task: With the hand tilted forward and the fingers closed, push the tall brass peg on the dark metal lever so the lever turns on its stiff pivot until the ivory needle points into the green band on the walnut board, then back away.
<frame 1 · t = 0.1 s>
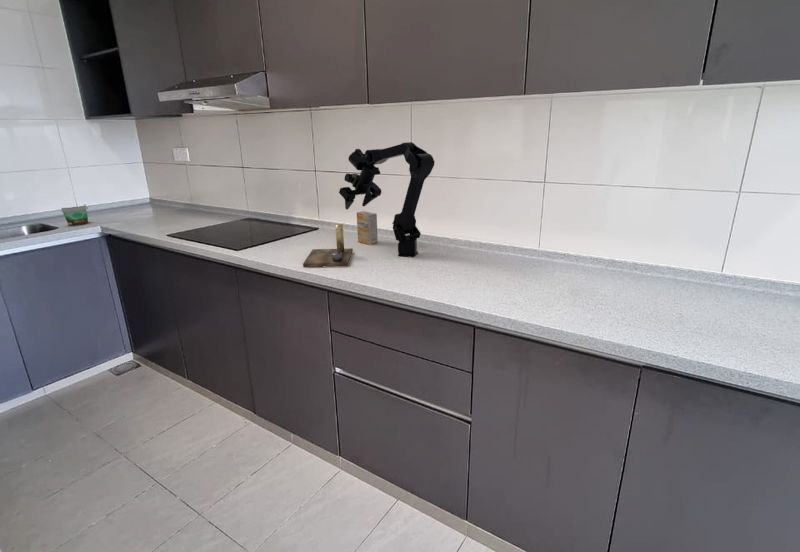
hand: (354, 207, 186), 15 cm above the worktop, tool tilted 35°, fingers open, 9 cm apart
supplement box: (367, 243, 188), on the worktop
tuning lever: (338, 241, 163), point 7 cm above the worktop, hinge at 0.0°
dial board: (329, 259, 166), on the worktop
food container: (80, 224, 239), on the worktop
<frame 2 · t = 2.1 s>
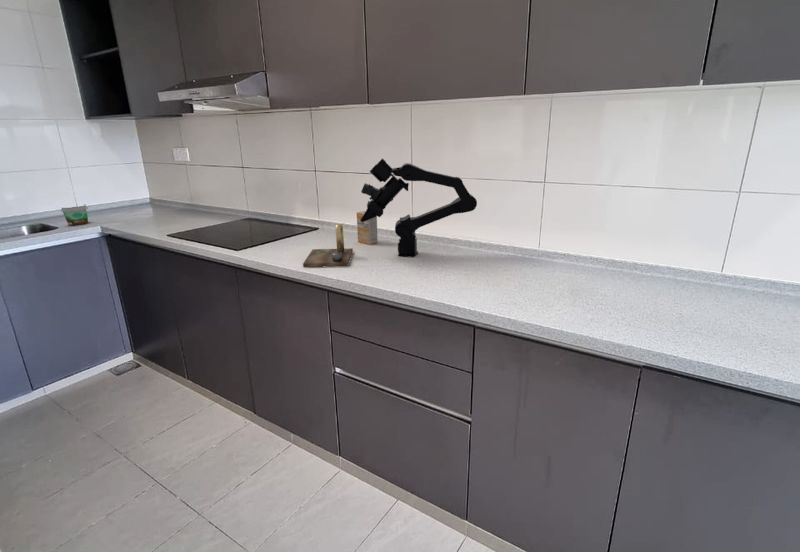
hand: (361, 221, 165), 14 cm above the worktop, tool tilted 45°, fingers closed
nothing on the worktop moved.
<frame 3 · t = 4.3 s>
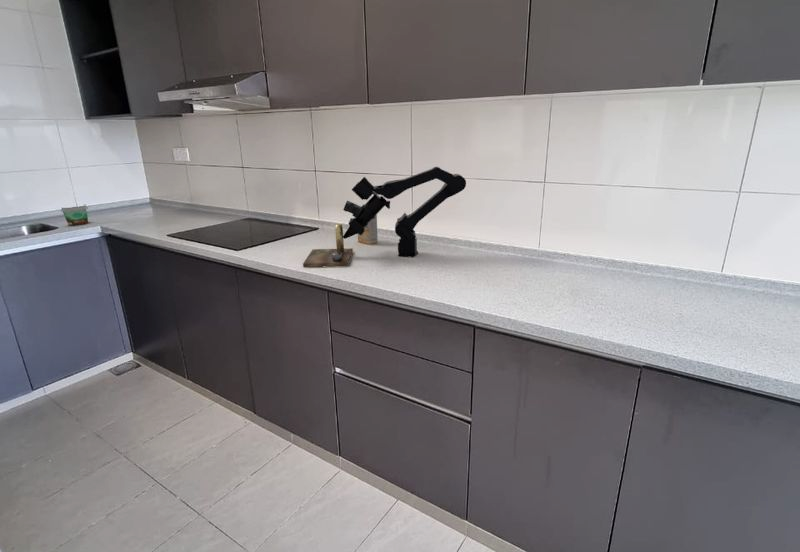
hand: (343, 237, 167), 7 cm above the worktop, tool tilted 45°, fingers closed, pressing on tuning lever
tuning lever: (338, 241, 163), point 7 cm above the worktop, hinge at 0.6°, touching gripper
everything else where it was.
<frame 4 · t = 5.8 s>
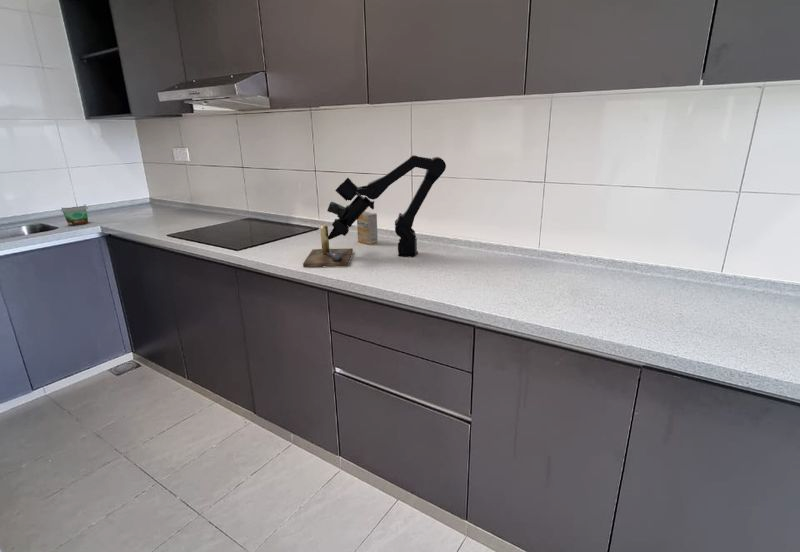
hand: (328, 238, 167), 7 cm above the worktop, tool tilted 45°, fingers closed
tuning lever: (329, 241, 162), point 7 cm above the worktop, hinge at 30.1°, touching gripper
everything else where it was.
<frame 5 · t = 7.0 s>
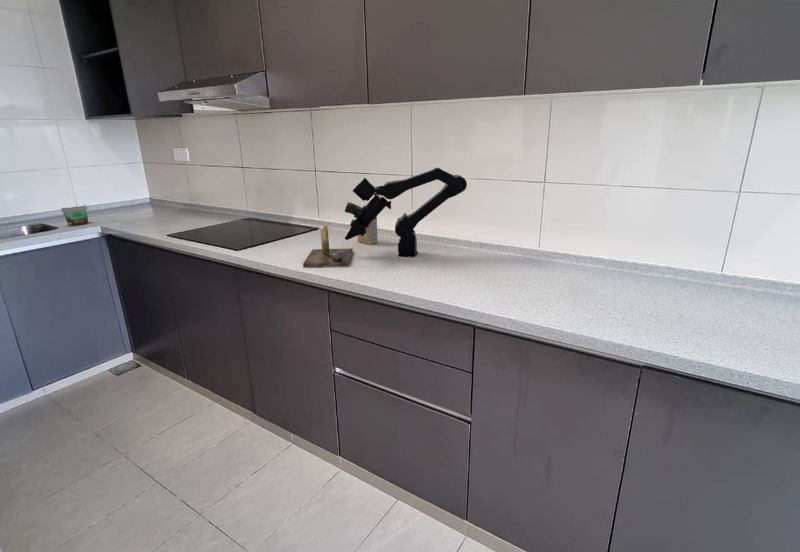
hand: (345, 239, 167), 7 cm above the worktop, tool tilted 45°, fingers closed
tuning lever: (329, 241, 162), point 7 cm above the worktop, hinge at 30.1°
everything else where it was.
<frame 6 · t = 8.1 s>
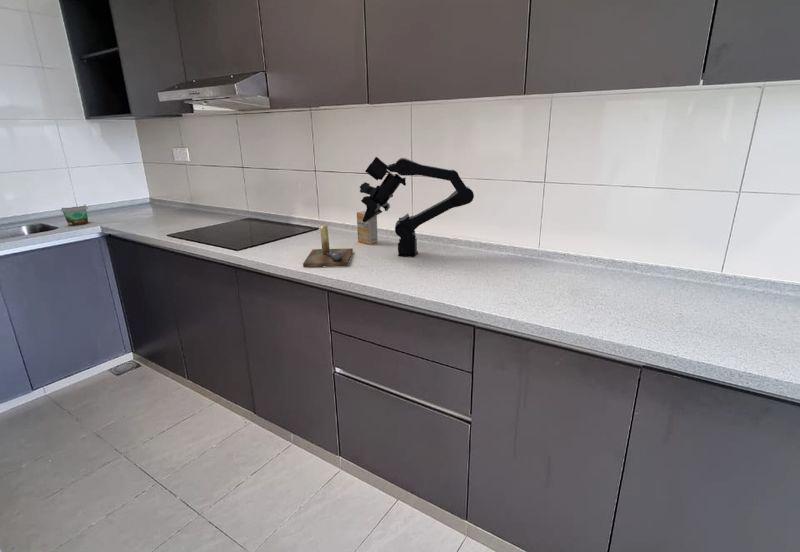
hand: (363, 221, 165), 13 cm above the worktop, tool tilted 35°, fingers closed
nothing on the worktop moved.
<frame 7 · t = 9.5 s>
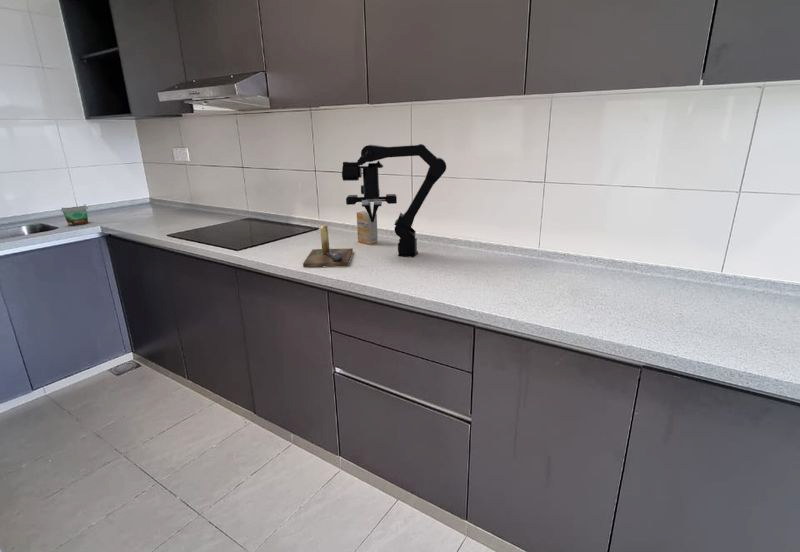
hand: (372, 221, 166), 13 cm above the worktop, tool pointing down, fingers closed
nothing on the worktop moved.
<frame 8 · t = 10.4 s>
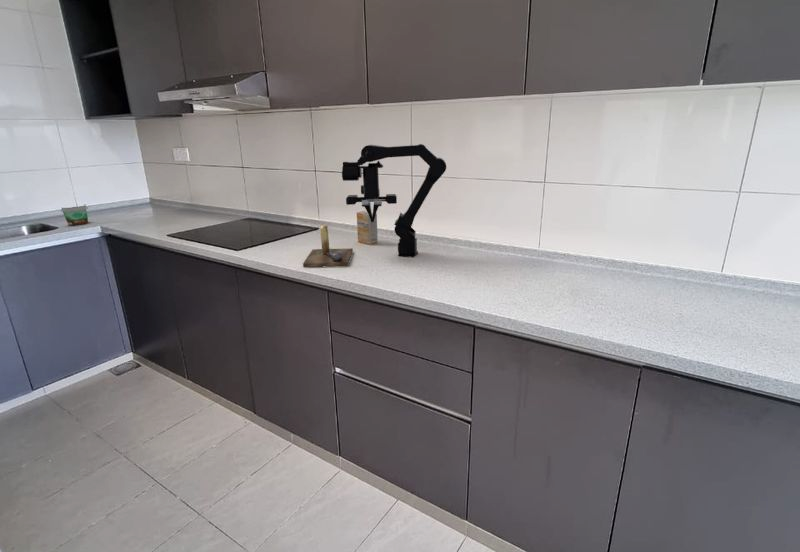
hand: (372, 222, 166), 13 cm above the worktop, tool pointing down, fingers closed
nothing on the worktop moved.
at the end: tuning lever at +30° (first picture: +0°); supplement box moved 0.2 cm from its start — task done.
